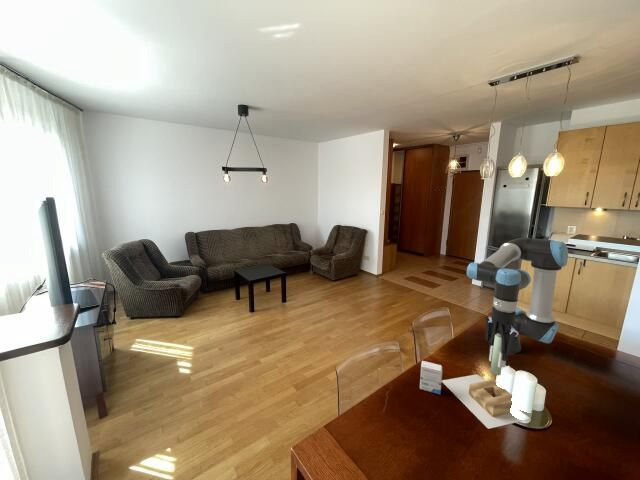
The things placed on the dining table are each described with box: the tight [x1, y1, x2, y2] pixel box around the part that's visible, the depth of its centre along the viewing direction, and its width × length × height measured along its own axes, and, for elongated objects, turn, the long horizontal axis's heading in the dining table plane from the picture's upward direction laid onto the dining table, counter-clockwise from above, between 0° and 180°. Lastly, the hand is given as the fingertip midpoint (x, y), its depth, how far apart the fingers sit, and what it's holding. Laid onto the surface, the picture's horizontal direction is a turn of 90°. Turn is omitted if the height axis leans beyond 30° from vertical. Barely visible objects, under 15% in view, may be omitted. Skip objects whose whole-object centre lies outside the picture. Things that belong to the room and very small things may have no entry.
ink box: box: [419, 360, 443, 395], centre depth 116 cm, size 9×5×12 cm, turn 65°
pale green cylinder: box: [489, 333, 503, 376], centre depth 105 cm, size 4×4×17 cm
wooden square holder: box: [469, 379, 513, 417], centre depth 108 cm, size 12×12×5 cm
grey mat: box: [441, 373, 523, 429], centre depth 111 cm, size 26×20×1 cm
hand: (496, 363), depth 105 cm, fingers closed on pale green cylinder, 3 cm apart
